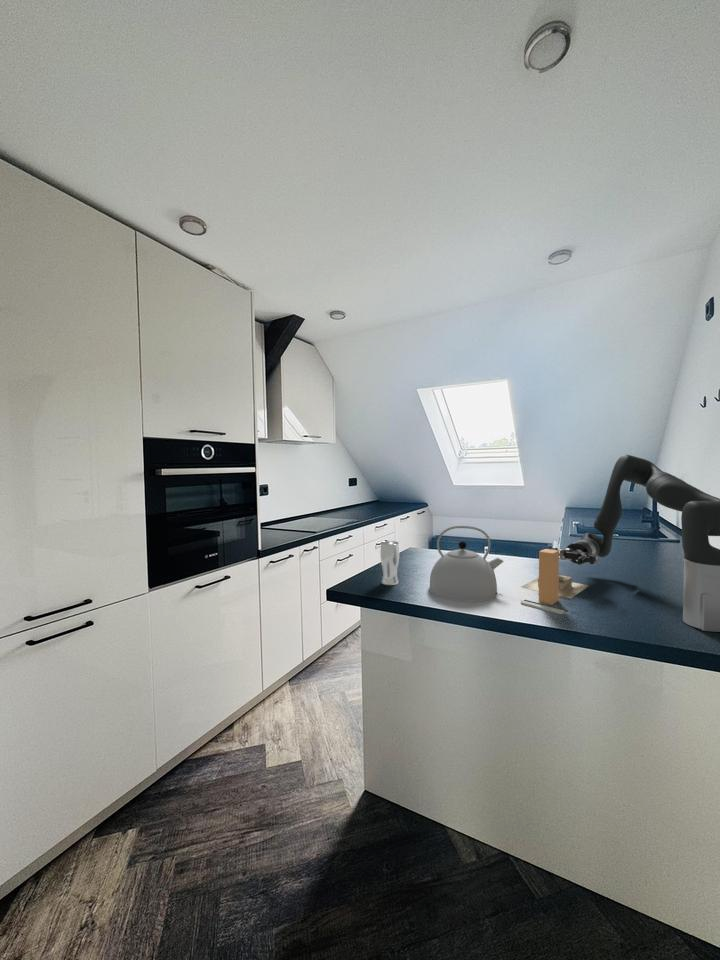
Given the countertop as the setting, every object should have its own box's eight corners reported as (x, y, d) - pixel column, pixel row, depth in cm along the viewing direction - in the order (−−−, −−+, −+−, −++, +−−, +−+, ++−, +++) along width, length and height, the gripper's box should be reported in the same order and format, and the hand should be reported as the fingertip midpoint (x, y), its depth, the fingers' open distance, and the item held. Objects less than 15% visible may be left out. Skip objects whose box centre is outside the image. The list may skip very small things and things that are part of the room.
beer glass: (380, 580, 145) (380, 540, 145) (398, 580, 145) (398, 540, 145) (380, 585, 139) (380, 544, 138) (400, 585, 138) (399, 544, 138)
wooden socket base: (589, 588, 133) (589, 574, 133) (570, 601, 121) (570, 586, 121) (541, 578, 145) (541, 566, 145) (520, 589, 133) (520, 576, 132)
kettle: (497, 581, 142) (497, 521, 141) (511, 603, 120) (511, 532, 119) (428, 579, 146) (428, 520, 145) (430, 600, 124) (430, 531, 123)
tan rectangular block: (558, 601, 119) (558, 550, 119) (552, 605, 116) (552, 553, 115) (545, 598, 122) (545, 548, 121) (538, 602, 119) (539, 551, 118)
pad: (576, 603, 119) (576, 602, 119) (562, 614, 111) (562, 612, 111) (537, 594, 128) (537, 592, 127) (520, 603, 119) (520, 601, 119)
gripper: (560, 538, 143) (542, 544, 132) (604, 543, 132) (588, 551, 121) (559, 558, 143) (542, 566, 132) (603, 565, 133) (588, 574, 121)
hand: (564, 559), depth 126 cm, fingers open, 8 cm apart
